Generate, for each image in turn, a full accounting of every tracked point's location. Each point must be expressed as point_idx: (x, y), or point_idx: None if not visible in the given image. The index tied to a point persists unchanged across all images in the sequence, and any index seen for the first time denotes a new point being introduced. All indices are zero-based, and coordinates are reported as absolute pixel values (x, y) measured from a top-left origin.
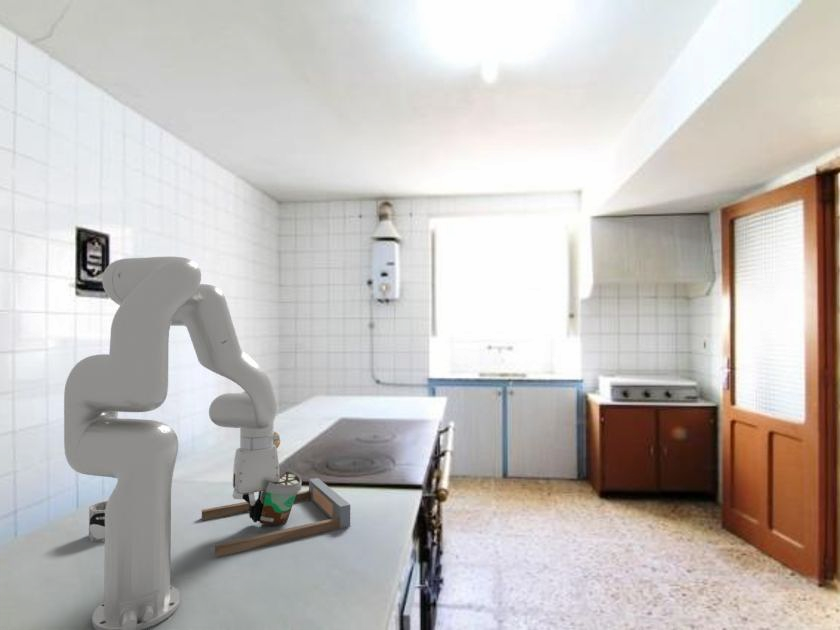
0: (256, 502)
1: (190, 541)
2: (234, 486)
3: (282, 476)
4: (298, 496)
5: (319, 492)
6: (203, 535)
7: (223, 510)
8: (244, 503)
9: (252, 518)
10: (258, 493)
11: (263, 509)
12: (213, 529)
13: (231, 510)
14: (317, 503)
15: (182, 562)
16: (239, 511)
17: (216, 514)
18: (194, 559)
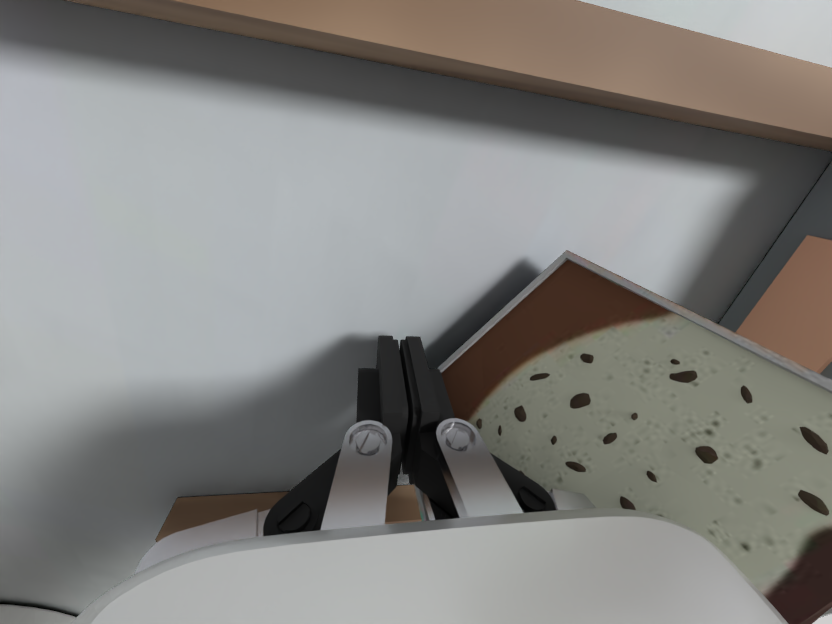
0: (413, 431)
1: (10, 361)
2: (90, 616)
3: (811, 616)
4: (818, 139)
5: (829, 363)
6: (82, 323)
7: (177, 8)
8: (412, 24)
9: (377, 356)
10: (452, 475)
11: (418, 490)
12: (140, 270)
13: (274, 29)
14: (762, 288)
15: (43, 508)
16: (355, 55)
17: (112, 5)
18: (94, 504)
